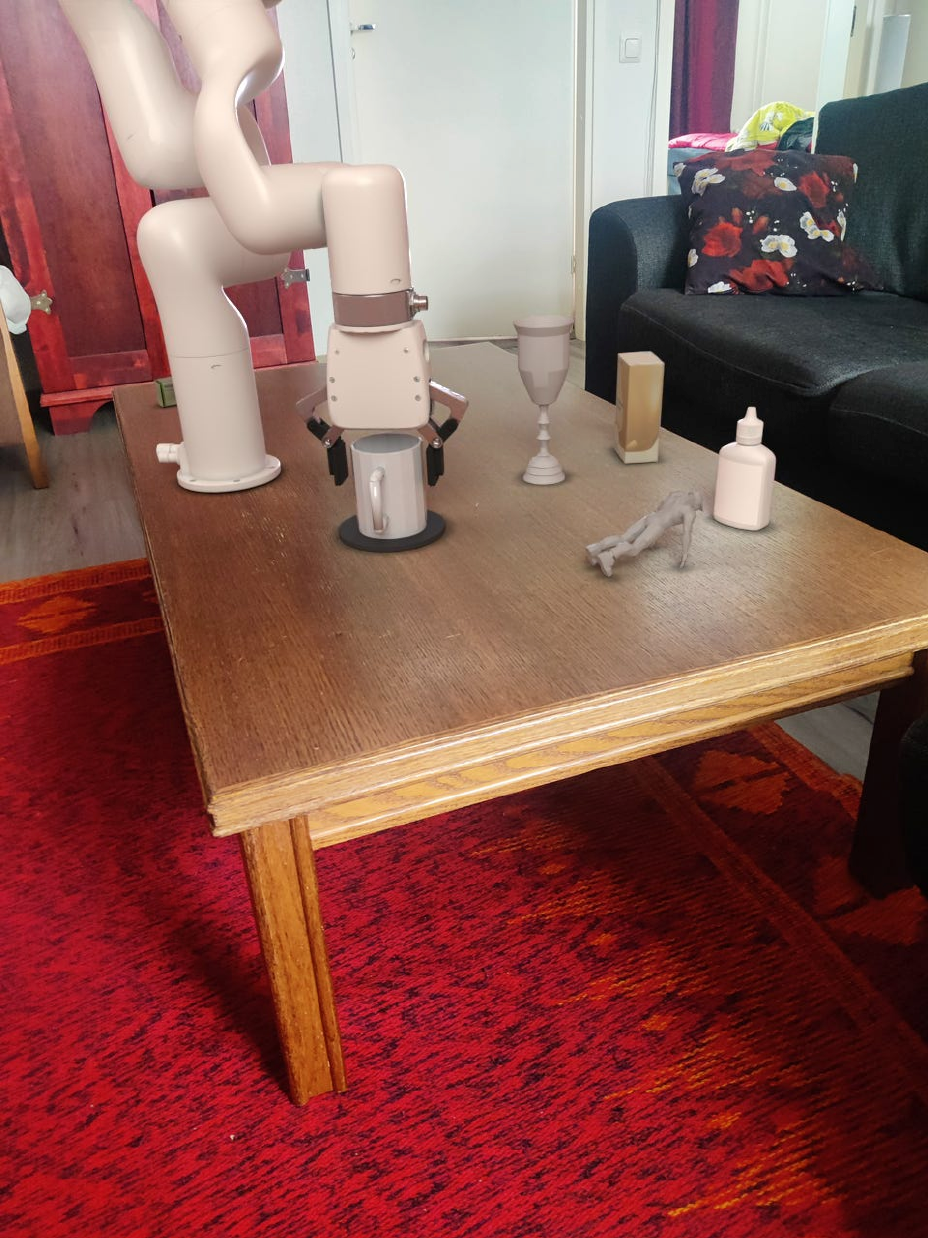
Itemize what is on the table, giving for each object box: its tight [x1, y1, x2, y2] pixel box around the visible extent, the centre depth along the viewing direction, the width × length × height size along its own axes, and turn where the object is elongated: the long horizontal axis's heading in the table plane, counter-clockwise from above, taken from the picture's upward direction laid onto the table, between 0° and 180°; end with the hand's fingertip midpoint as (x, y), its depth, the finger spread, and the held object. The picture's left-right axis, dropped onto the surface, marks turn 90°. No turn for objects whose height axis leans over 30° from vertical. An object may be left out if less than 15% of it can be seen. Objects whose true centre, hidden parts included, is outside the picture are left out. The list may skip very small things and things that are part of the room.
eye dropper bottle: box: [713, 406, 777, 532], centre depth 95 cm, size 4×6×12 cm
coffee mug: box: [349, 431, 428, 539], centre depth 96 cm, size 10×7×9 cm
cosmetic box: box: [613, 351, 665, 465], centre depth 116 cm, size 6×4×12 cm
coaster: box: [338, 509, 447, 553], centre depth 100 cm, size 11×11×1 cm
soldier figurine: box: [584, 490, 705, 578], centre depth 89 cm, size 6×5×12 cm
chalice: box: [512, 314, 575, 485], centre depth 109 cm, size 7×7×18 cm
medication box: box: [153, 376, 177, 409], centre depth 152 cm, size 12×3×4 cm, turn 126°
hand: (387, 481), depth 98 cm, fingers open, 9 cm apart
